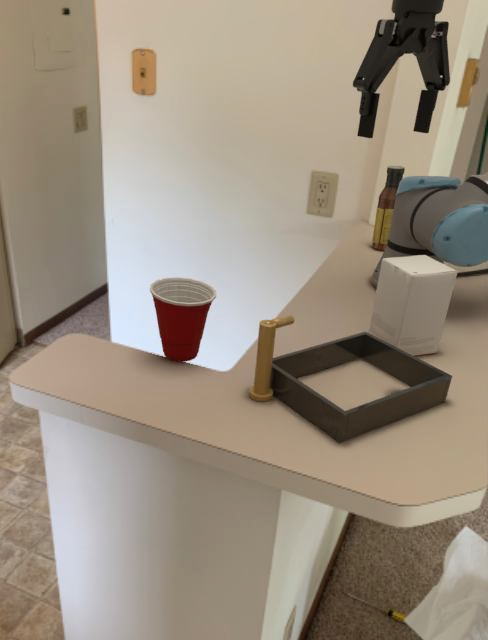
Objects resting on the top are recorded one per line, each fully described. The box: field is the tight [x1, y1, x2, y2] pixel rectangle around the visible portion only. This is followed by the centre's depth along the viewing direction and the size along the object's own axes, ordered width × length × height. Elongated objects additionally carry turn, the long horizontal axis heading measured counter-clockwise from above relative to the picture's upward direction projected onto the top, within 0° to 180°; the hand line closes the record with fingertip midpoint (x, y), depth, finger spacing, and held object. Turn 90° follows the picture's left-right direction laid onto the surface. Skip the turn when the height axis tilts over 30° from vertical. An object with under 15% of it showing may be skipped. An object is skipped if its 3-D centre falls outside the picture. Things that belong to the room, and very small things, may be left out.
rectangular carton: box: [368, 255, 459, 357], centre depth 105 cm, size 9×9×15 cm
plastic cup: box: [149, 276, 217, 363], centre depth 101 cm, size 11×11×12 cm
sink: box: [248, 314, 453, 444], centre depth 90 cm, size 25×18×12 cm
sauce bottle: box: [372, 165, 406, 252], centre depth 152 cm, size 7×6×20 cm
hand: (393, 134), depth 103 cm, fingers open, 13 cm apart
